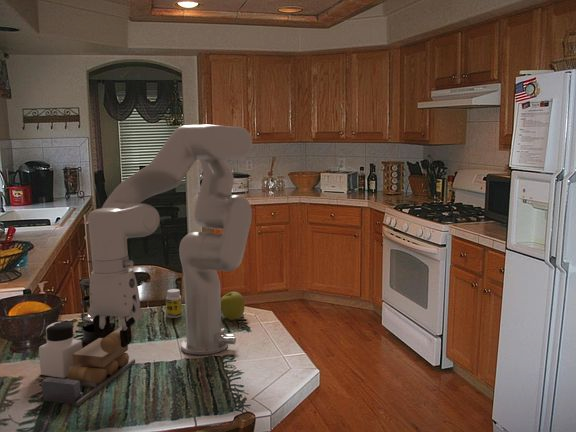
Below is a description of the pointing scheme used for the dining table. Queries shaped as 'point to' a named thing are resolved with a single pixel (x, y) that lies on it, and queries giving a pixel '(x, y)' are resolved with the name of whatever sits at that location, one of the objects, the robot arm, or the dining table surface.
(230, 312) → the apple
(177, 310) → the supplement bottle
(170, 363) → the dining table surface
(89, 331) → the french press
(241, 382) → the dining table surface
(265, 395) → the dining table surface
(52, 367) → the medicine bottle
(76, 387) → the block
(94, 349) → the slab
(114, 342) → the roller
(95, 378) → the track
